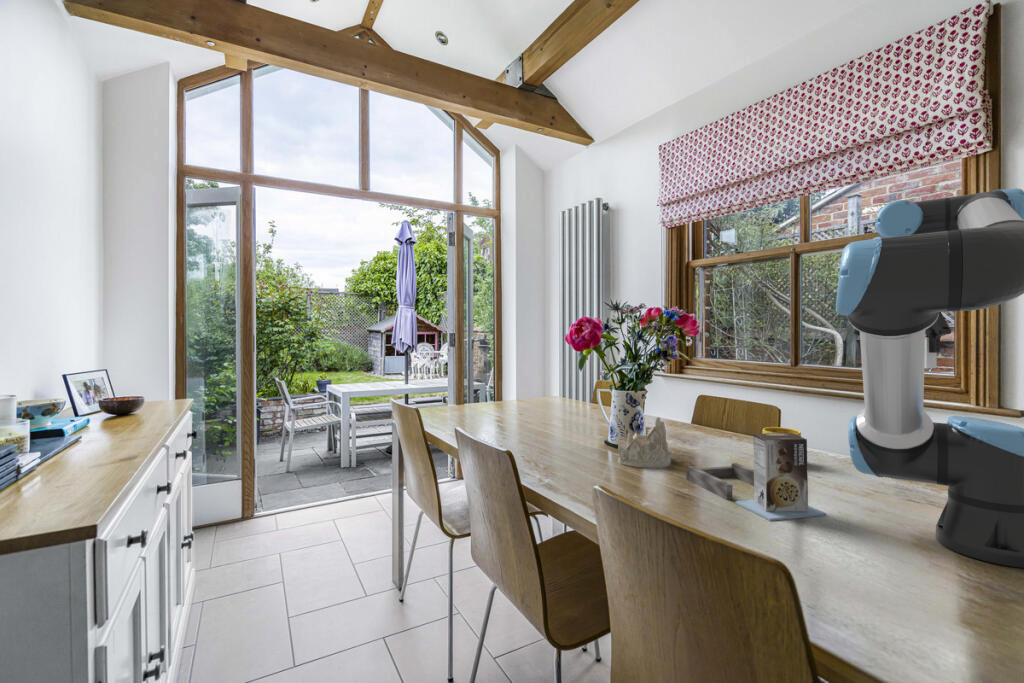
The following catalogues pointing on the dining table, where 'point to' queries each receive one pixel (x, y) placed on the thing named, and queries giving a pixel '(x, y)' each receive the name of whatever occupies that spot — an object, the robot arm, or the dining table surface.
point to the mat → (778, 515)
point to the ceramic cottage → (646, 448)
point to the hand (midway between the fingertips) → (898, 366)
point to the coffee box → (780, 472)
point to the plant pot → (780, 430)
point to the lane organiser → (711, 476)
